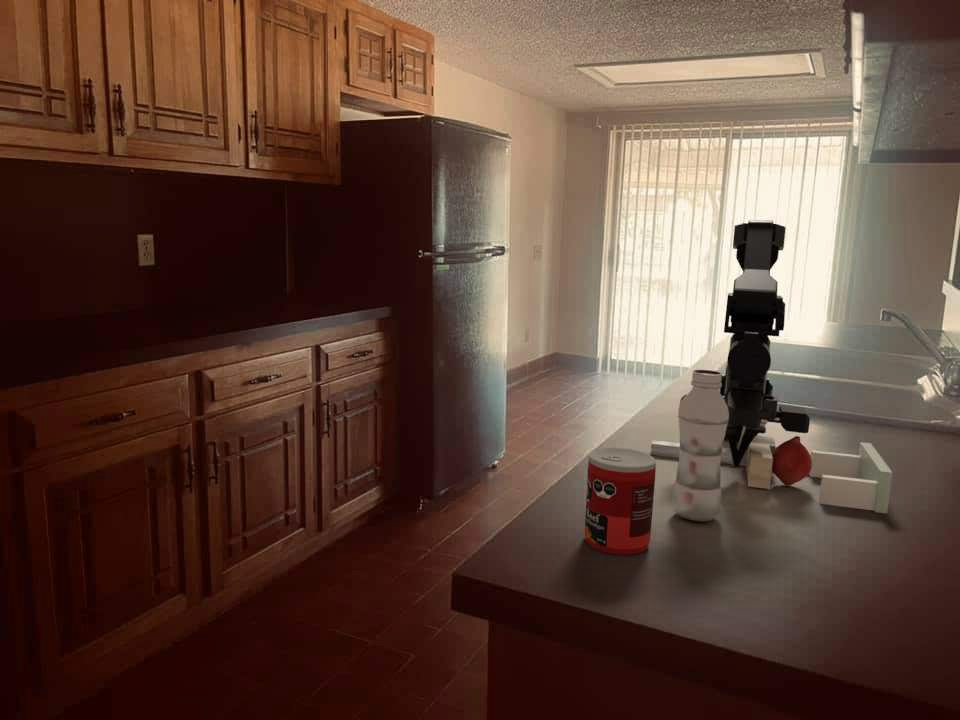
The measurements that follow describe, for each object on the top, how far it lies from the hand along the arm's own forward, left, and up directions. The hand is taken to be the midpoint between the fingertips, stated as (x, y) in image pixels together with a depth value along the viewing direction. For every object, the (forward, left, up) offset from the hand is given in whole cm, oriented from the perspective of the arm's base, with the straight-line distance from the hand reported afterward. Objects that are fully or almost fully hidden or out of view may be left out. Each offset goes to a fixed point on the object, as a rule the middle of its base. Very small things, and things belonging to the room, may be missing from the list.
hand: (736, 466), depth 114 cm
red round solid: (+1, +7, -2) cm, 8 cm away
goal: (0, +15, -2) cm, 15 cm away
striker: (-3, +3, -2) cm, 4 cm away
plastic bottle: (+19, -6, -2) cm, 20 cm away
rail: (-8, +2, -2) cm, 9 cm away
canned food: (+31, -15, -2) cm, 34 cm away
